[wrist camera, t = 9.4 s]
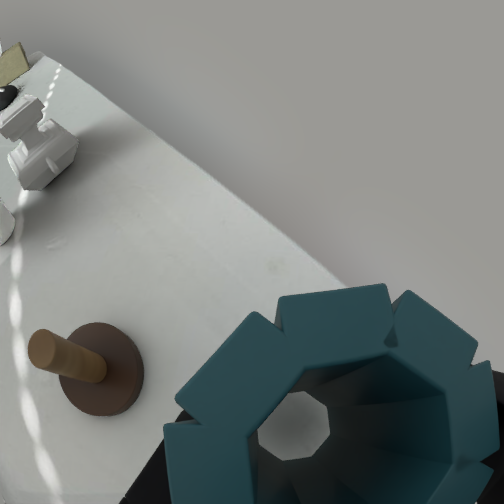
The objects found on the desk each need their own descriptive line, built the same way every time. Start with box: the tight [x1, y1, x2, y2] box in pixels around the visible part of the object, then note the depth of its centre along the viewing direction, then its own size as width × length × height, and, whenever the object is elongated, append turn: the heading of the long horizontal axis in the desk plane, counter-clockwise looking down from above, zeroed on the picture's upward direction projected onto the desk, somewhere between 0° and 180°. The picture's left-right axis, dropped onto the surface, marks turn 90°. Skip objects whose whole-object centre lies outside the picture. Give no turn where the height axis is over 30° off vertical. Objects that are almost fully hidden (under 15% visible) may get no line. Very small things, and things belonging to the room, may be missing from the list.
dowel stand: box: [28, 322, 144, 416], centre depth 12 cm, size 6×6×6 cm
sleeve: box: [163, 283, 500, 504], centre depth 8 cm, size 6×6×10 cm
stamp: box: [0, 94, 79, 191], centre depth 20 cm, size 9×7×8 cm
